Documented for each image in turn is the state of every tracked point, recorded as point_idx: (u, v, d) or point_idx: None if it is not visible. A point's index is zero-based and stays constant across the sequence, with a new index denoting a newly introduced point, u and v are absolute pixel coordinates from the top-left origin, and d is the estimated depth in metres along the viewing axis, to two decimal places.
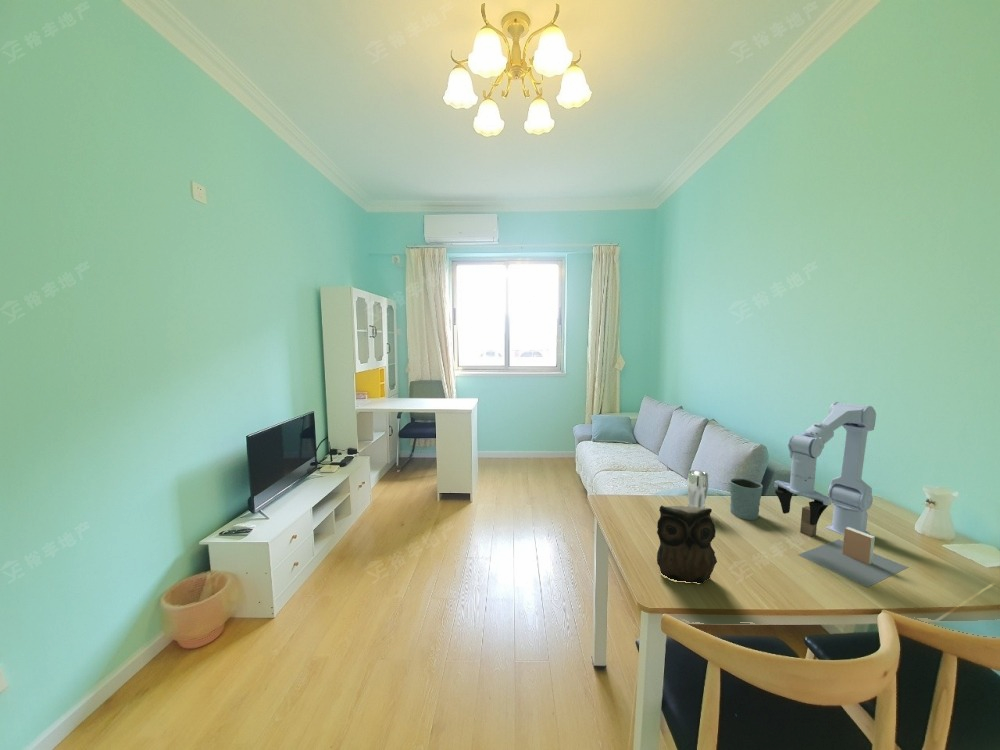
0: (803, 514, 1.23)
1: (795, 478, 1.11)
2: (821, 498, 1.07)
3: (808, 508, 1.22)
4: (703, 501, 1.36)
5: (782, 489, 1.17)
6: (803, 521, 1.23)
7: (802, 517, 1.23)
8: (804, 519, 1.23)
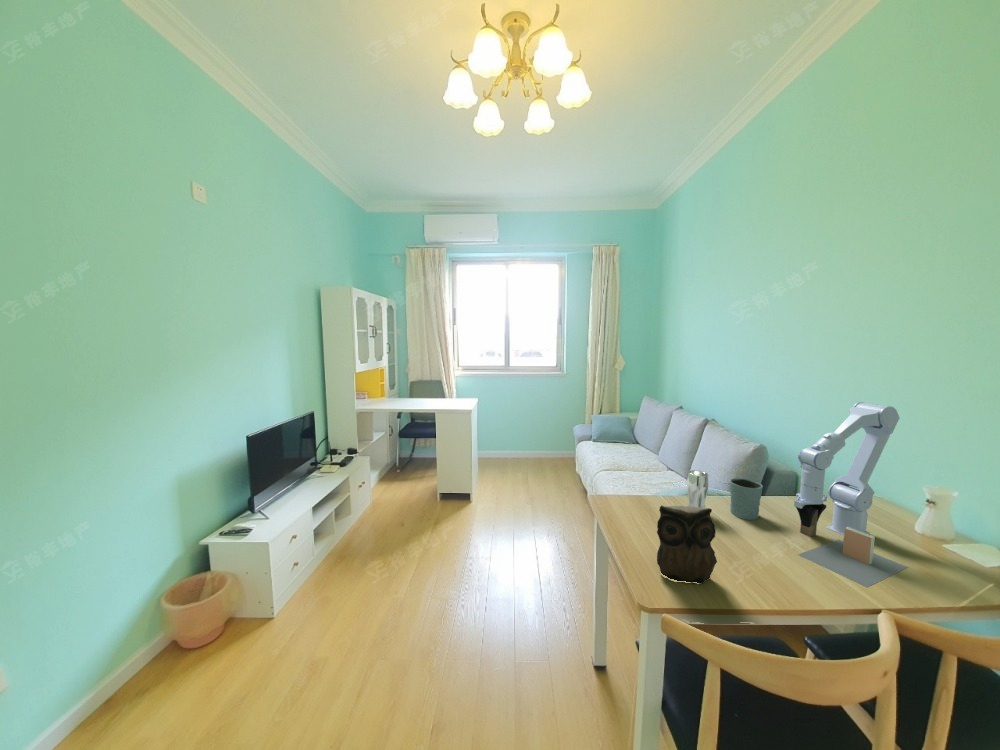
0: None
1: None
2: None
3: None
4: (703, 501, 1.36)
5: None
6: None
7: None
8: None
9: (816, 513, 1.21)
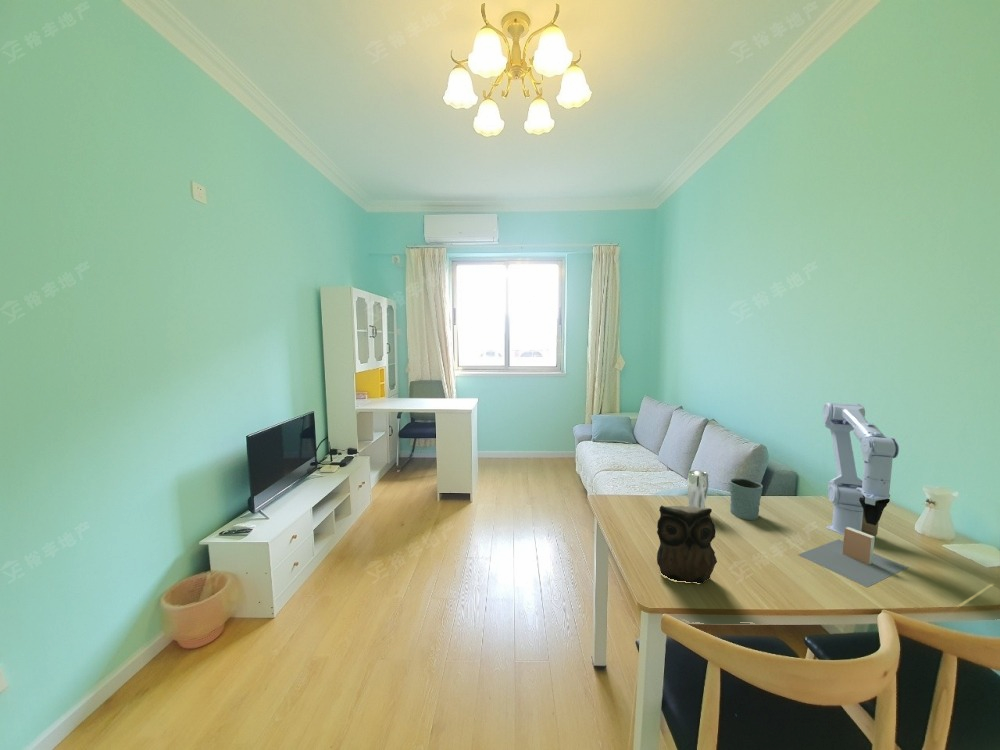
0: None
1: None
2: (865, 496, 1.07)
3: None
4: (703, 501, 1.36)
5: None
6: None
7: (864, 514, 1.11)
8: None
9: None
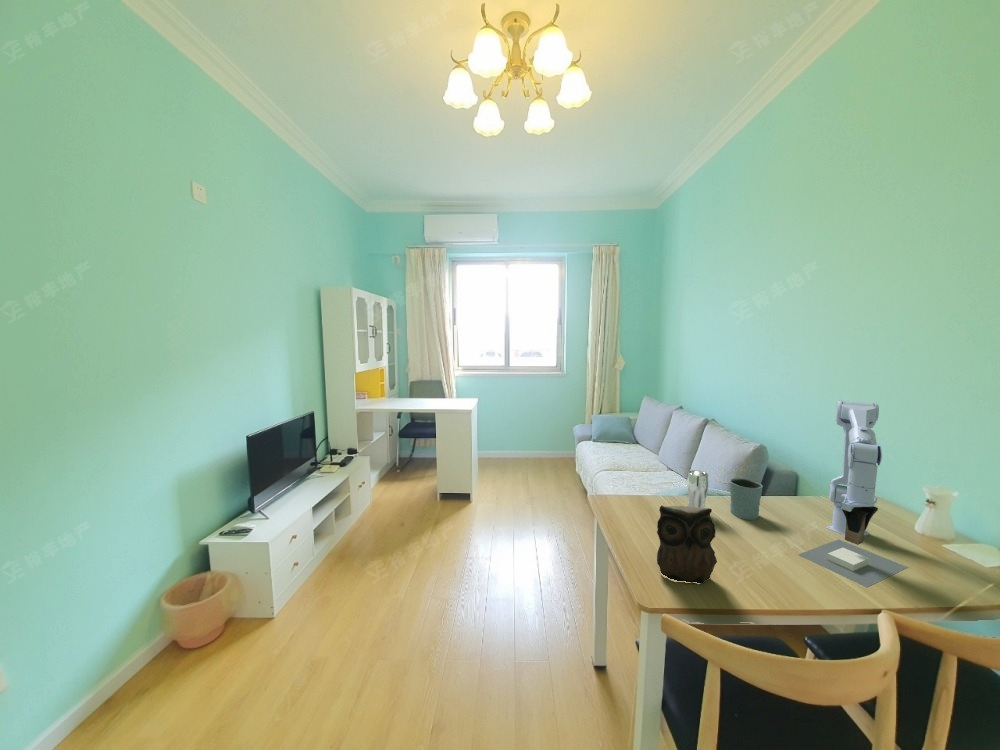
0: None
1: None
2: None
3: None
4: (703, 501, 1.36)
5: None
6: None
7: None
8: None
9: None
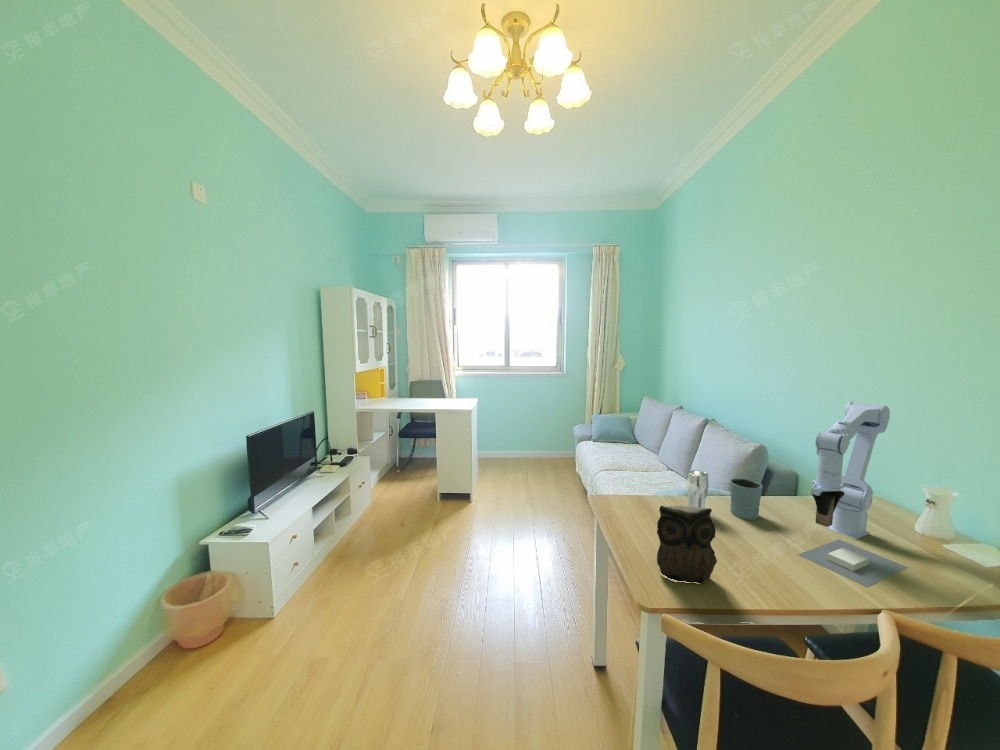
0: None
1: None
2: None
3: None
4: (703, 501, 1.36)
5: None
6: None
7: None
8: None
9: (832, 501, 1.15)
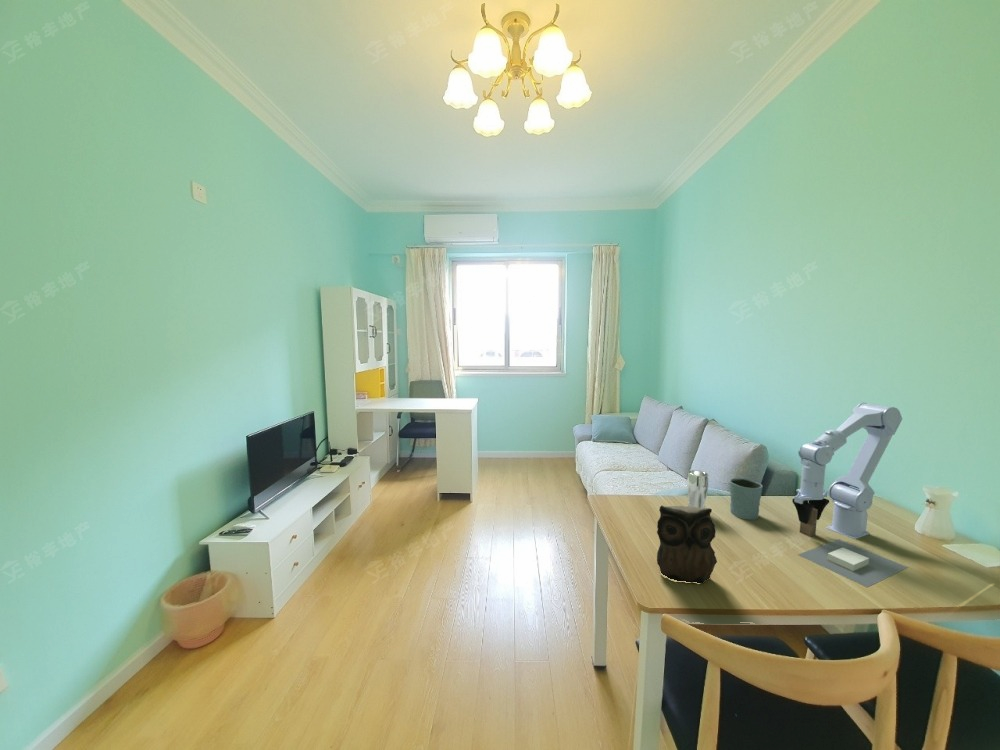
0: None
1: None
2: None
3: None
4: (703, 501, 1.36)
5: None
6: None
7: None
8: None
9: (815, 513, 1.21)
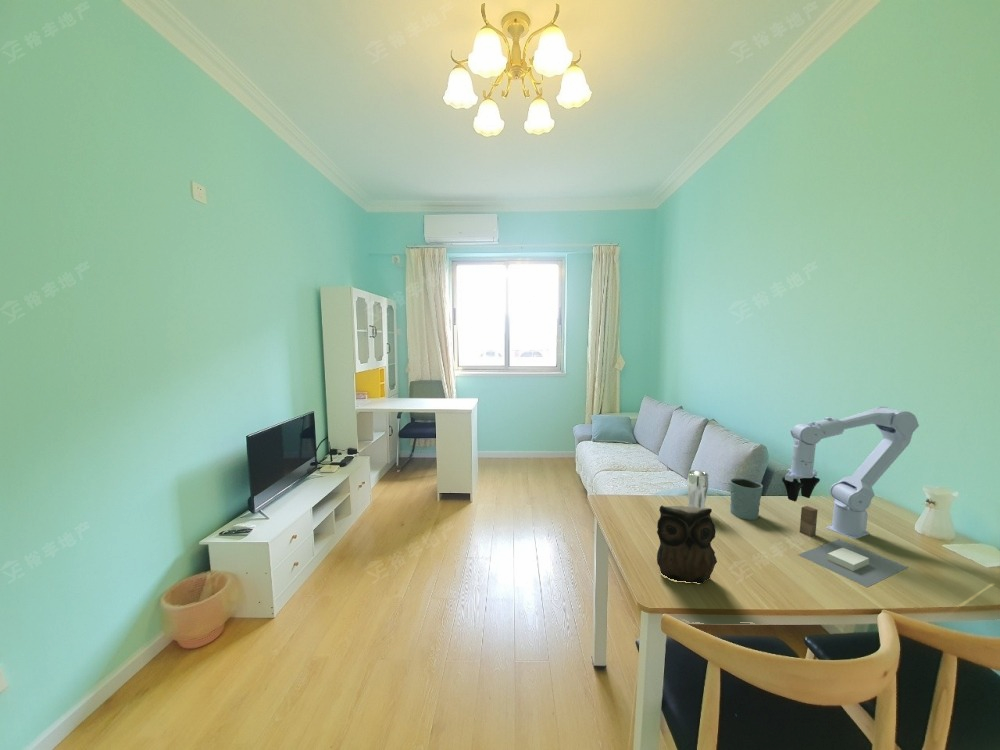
0: (802, 514, 1.23)
1: None
2: (787, 474, 1.25)
3: (808, 508, 1.23)
4: (703, 501, 1.36)
5: None
6: (802, 521, 1.23)
7: (801, 517, 1.23)
8: (803, 519, 1.23)
9: (815, 513, 1.21)
